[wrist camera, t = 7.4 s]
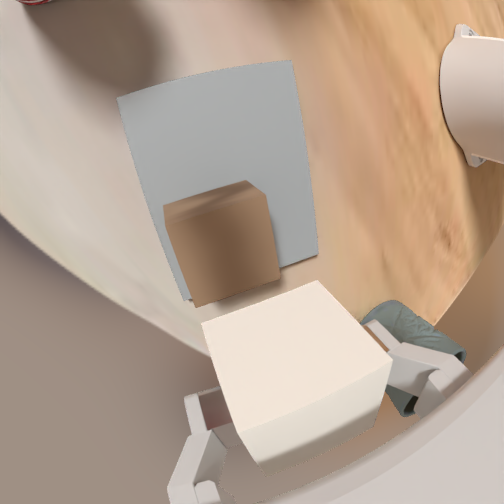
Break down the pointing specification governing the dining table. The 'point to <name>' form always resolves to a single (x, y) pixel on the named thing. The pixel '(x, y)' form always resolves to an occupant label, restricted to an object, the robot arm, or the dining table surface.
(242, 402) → the cream cube
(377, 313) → the green plant pot
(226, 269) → the walnut base
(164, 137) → the board
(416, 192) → the dining table surface
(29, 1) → the soda can
